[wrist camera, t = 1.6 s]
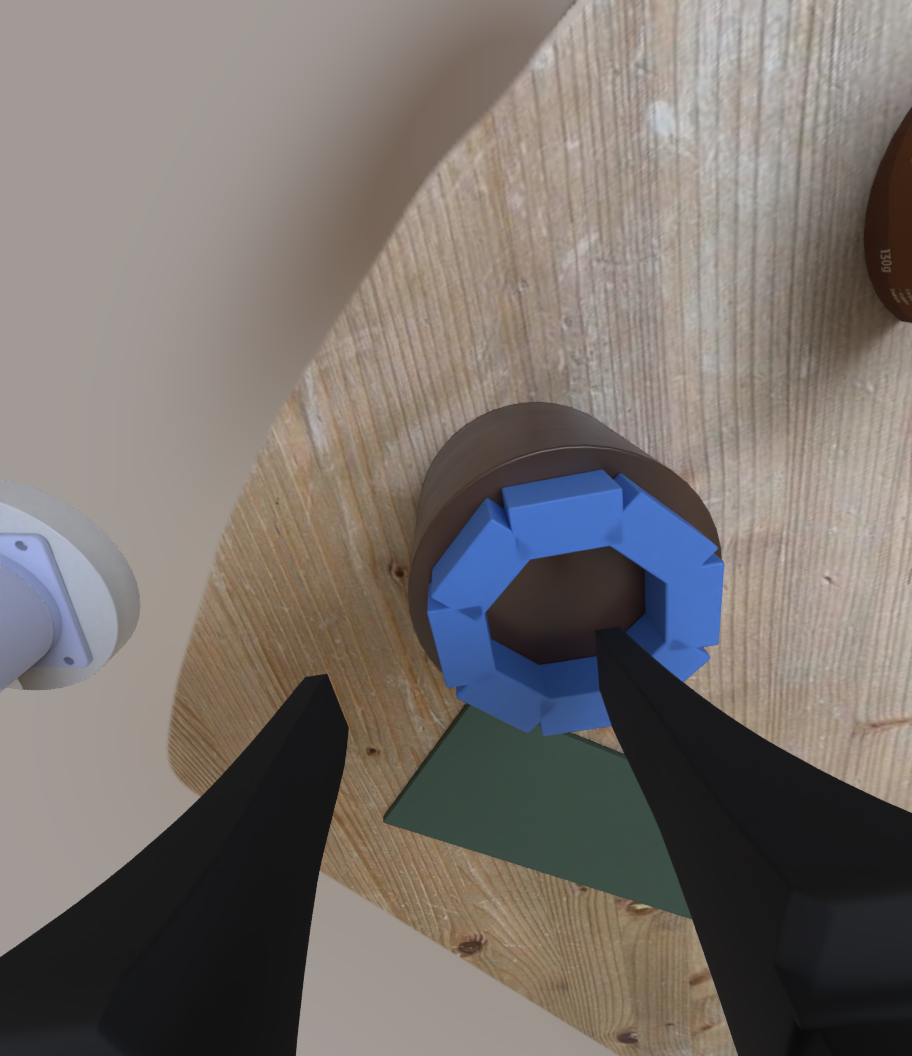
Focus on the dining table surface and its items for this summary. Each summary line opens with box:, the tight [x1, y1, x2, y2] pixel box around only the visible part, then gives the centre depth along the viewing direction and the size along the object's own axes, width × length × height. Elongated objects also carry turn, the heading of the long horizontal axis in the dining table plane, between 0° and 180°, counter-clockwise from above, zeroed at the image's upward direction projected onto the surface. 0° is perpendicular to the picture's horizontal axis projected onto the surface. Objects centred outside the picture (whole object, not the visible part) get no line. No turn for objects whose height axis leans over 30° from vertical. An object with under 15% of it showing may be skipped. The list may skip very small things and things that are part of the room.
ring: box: [427, 470, 724, 736], centre depth 14 cm, size 8×8×2 cm
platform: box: [408, 402, 722, 673], centre depth 18 cm, size 10×10×7 cm
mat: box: [383, 704, 692, 919], centre depth 32 cm, size 40×12×1 cm, turn 61°
